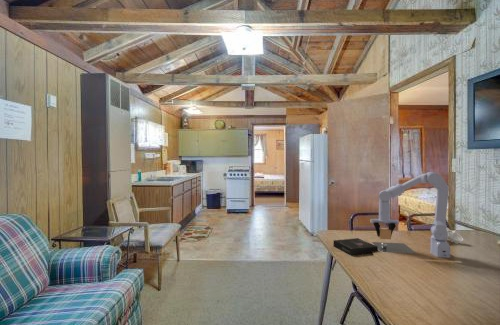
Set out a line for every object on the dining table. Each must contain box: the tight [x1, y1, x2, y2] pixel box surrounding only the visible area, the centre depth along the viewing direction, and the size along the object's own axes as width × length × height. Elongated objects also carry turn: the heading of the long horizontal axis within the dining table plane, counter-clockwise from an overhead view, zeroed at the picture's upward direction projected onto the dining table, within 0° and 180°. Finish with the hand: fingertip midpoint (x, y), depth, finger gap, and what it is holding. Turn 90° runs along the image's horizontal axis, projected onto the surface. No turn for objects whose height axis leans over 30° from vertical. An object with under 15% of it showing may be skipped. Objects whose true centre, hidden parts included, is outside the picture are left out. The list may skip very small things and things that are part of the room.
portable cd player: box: [333, 237, 379, 257], centre depth 162 cm, size 16×17×4 cm
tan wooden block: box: [377, 227, 392, 240], centre depth 162 cm, size 6×6×5 cm
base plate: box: [371, 241, 417, 254], centre depth 162 cm, size 18×18×4 cm
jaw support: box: [446, 227, 464, 245], centre depth 176 cm, size 12×9×10 cm
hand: (384, 236), depth 162 cm, fingers closed on tan wooden block, 6 cm apart
